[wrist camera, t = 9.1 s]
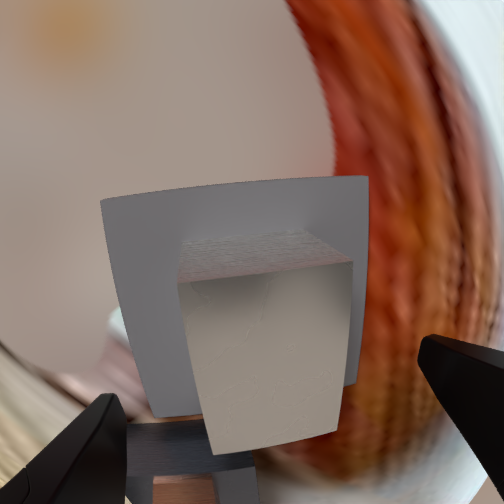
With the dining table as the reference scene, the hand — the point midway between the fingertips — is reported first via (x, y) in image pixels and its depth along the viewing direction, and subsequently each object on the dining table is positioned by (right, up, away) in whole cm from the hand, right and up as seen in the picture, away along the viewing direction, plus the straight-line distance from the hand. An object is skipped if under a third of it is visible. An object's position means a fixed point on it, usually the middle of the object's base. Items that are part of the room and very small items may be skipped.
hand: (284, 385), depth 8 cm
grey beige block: (-1, +1, +4) cm, 5 cm away
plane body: (-4, -14, +9) cm, 17 cm away
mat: (-1, +1, +5) cm, 5 cm away
